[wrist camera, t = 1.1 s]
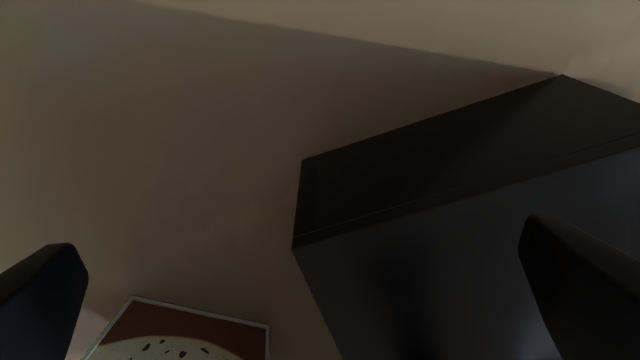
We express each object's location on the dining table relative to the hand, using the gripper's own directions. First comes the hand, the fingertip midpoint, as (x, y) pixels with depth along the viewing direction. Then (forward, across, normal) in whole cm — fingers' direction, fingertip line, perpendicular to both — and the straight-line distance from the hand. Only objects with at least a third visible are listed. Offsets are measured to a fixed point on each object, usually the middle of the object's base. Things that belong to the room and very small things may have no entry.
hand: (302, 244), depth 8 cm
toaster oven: (+12, -9, +13) cm, 20 cm away
